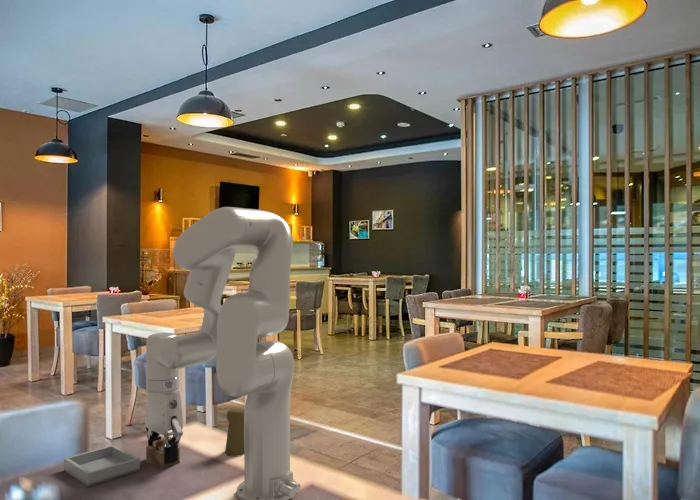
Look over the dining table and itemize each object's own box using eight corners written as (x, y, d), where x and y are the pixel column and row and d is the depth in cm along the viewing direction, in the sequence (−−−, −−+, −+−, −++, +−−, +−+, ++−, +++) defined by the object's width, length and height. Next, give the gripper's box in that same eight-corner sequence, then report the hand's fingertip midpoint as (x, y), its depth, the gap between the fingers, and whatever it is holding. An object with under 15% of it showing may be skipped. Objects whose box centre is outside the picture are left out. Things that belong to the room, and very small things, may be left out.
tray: (139, 470, 123) (139, 458, 123) (88, 487, 115) (88, 474, 115) (113, 456, 132) (113, 444, 132) (63, 470, 124) (63, 458, 124)
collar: (179, 462, 128) (179, 444, 128) (161, 468, 124) (161, 450, 124) (164, 455, 133) (164, 438, 133) (146, 461, 129) (146, 443, 129)
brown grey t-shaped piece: (172, 460, 129) (172, 438, 129) (156, 465, 126) (156, 442, 126) (168, 458, 131) (168, 436, 131) (152, 463, 127) (152, 441, 128)
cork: (235, 457, 131) (235, 413, 131) (220, 452, 135) (219, 408, 135) (254, 450, 136) (254, 407, 136) (238, 445, 139) (238, 403, 139)
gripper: (196, 387, 126) (196, 462, 126) (158, 376, 137) (158, 445, 137) (167, 393, 120) (167, 472, 120) (130, 381, 132) (130, 453, 131)
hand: (162, 457), depth 128 cm, fingers closed on collar, 7 cm apart
